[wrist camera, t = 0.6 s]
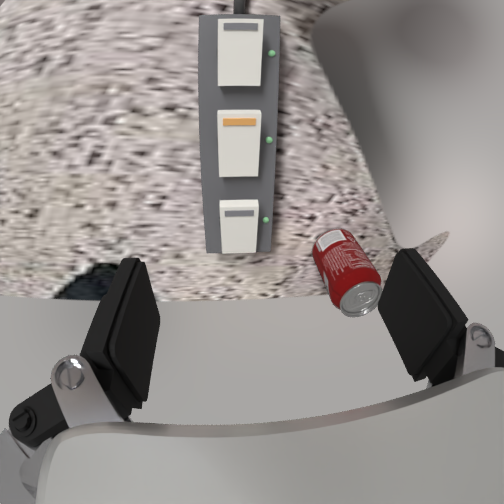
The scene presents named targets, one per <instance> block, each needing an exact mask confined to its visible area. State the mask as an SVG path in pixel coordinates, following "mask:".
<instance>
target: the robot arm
mask: <svg viewBox="0 0 504 504" xmlns="http://www.w3.org/2000/svg"><path fill="white" fill-rule="evenodd" d="M378 310H379V313H380V314H381V317H382V319H383V321H384V323H385V325H386V327H387V329H388V331H389V333H390V335H391V337H392V339H393V341H394V343H395V345H396V347H397V349H398V352H399V354H400V356H401V358H402V360H403V363H404V364H405V367H406V369H407V372H408V373H409V375H411V376H412V377H413V379H414V381H415V382H416V381H418V380H422V379H425V378H426V376H427V377H428V379H429V381H428V385H427V388H426V389H425V390H422V391H419V392H416V393H413V394H410V395H406V396H403V397H400V398H396V399H393V400H390V401H386V402H382V403H379V404H374V405H370V406H366V407H362V408H358V409H353V410H349V411H344V412H339V413H334V414H328V415H322V416H316V417H310V418H303V419H296V420H288V421H278V422H267V423H254V424H236V425H175V424H156V423H138V422H133V421H132V420H131V418H130V416H129V415H131V411H132V408H137V409H142V402H143V401H147V398H148V392H149V385H150V378H151V371H152V365H153V359H154V353H155V348H156V342H157V337H158V332H159V327H160V315H159V311H158V308H157V305H156V301H155V298H154V294H153V291H152V287H151V283H150V280H149V276H148V272H147V268H146V265H145V262H141V261H140V259H139V258H124V259H122V261H121V263H120V265H119V267H118V270H117V272H116V274H115V276H114V278H113V281H112V283H111V285H110V287H109V290H108V292H107V295H104V296H103V297H102V299H101V301H100V303H99V306H98V308H97V311H96V313H95V316H94V318H93V321H92V323H91V326H90V328H89V331H88V333H87V336H86V339H85V342H84V344H83V347H82V350H81V353H80V356H78V355H68V356H66V357H63V358H62V359H60V360H59V361H58V362H57V363H56V364H55V366H54V367H53V369H52V372H51V378H50V379H51V384H49V385H48V386H46V387H45V388H43V389H42V390H40V391H38V392H37V393H35V394H34V395H33V396H31V397H29V398H28V399H26V400H25V401H23V402H22V403H20V404H18V405H17V406H16V407H15V408H14V409H13V411H12V412H11V414H10V418H9V430H7V429H4V430H3V431H2V433H1V434H0V503H1V504H504V351H502V350H500V349H498V348H496V347H495V341H494V337H493V335H492V333H491V332H490V330H489V329H488V328H487V327H485V326H484V325H482V324H479V323H472V324H470V325H469V326H468V327H467V328H466V326H465V324H466V323H467V321H468V318H467V317H466V315H465V314H464V312H463V311H462V310H461V308H460V307H459V305H458V304H457V302H456V301H455V300H454V298H453V297H452V295H451V294H450V293H449V291H448V290H447V289H446V287H445V286H444V285H443V283H442V282H441V281H440V279H439V278H438V277H437V275H436V274H435V273H434V272H433V270H432V269H431V268H430V267H429V265H428V264H427V263H426V262H425V260H424V259H423V258H422V257H421V255H420V254H419V253H418V252H417V251H416V250H415V249H413V248H409V249H401V250H400V251H399V253H397V254H396V255H395V258H394V261H393V264H392V267H391V270H390V272H389V275H388V278H387V281H386V283H385V286H384V289H383V291H382V294H381V296H380V299H379V301H378Z"/></svg>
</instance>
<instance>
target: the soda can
mask: <svg viewBox="0 0 504 504" xmlns="http://www.w3.org/2000/svg"><path fill="white" fill-rule="evenodd" d="M312 255H313V258H314V261H315V263H316V265H317V267H318V270H319V272H320V275H321V277H322V279H323V282H324V284H325V286H326V289H327V291H328V294H329V296H330V299H331V301H332V303H333V305H334V306H335V307H336V308H338V309H340V310H341V311H342V313H343V314H344V315H346V316H348V317H359V316H363V315H365V314H367V313H369V312H370V311H372V310H373V309H375V308H376V306H377V305H378V301H379V299H380V296H381V294H382V288H381V277H380V275H379V274H378V272H377V271H376V269H375V268H374V266H373V265H372V263H371V262H370V260H369V259H368V257H367V256H366V254H365V253H364V251H363V250H362V248H361V247H360V245H359V244H358V242H357V241H356V240H355V238H354V237H353V235H352V234H351V233H350V232H349V231H347V230H345V229H340V228H336V229H331V230H328V231H326V232H324V233H323V234H321V235H320V236H319V237H318V238H317V240H316V241H315V243H314V245H313V249H312Z"/></svg>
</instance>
